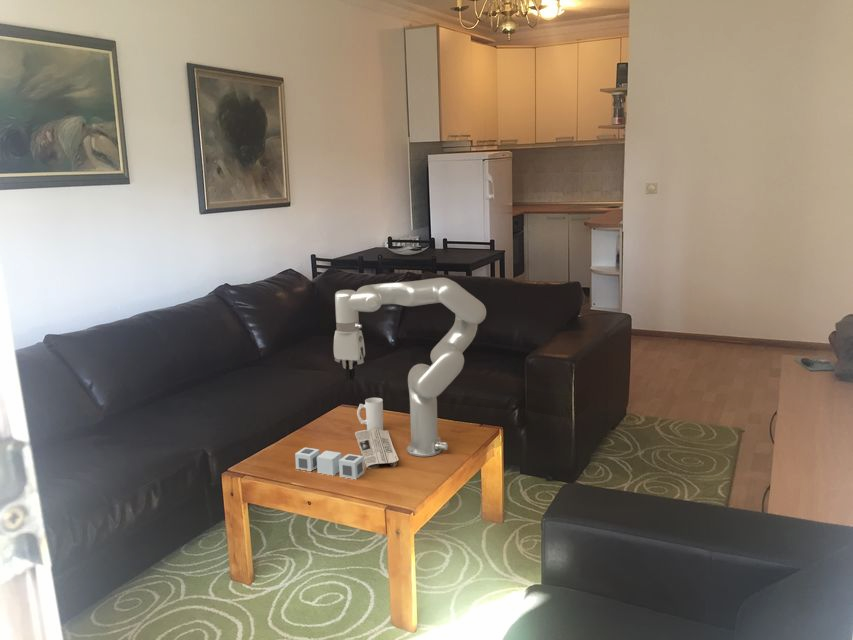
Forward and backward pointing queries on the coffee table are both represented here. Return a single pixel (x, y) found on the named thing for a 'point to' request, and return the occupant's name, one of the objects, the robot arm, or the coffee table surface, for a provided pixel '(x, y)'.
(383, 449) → the newspaper
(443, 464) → the coffee table surface
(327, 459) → the plain block
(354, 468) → the marked block near
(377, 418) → the mug
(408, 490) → the coffee table surface
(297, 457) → the marked block far
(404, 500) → the coffee table surface
